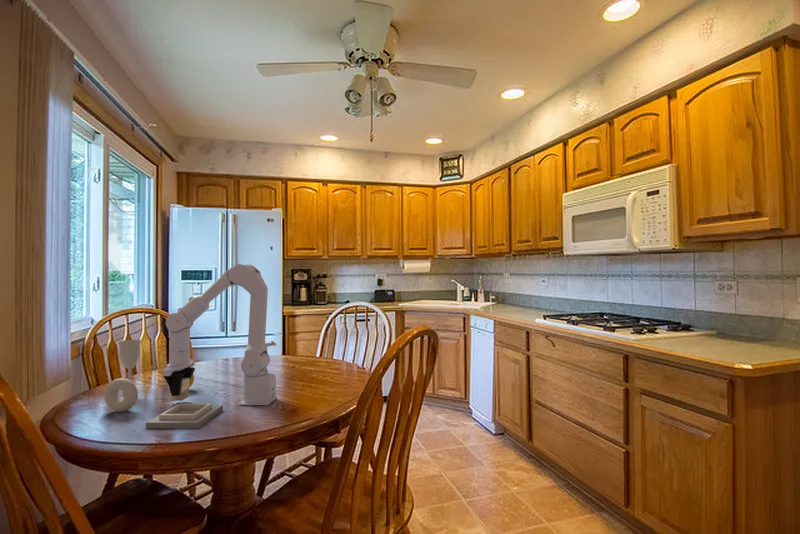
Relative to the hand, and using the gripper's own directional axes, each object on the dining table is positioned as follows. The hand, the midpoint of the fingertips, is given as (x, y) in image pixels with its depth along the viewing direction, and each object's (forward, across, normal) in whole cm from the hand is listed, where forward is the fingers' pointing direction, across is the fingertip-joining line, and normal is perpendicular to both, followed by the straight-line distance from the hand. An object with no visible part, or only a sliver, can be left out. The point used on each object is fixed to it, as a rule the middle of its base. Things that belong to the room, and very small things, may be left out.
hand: (179, 393), depth 127 cm
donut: (+3, +8, -13) cm, 16 cm away
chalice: (+3, -10, -23) cm, 25 cm away
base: (+3, +14, +10) cm, 17 cm away
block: (+2, 0, 0) cm, 2 cm away
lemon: (+3, -14, -6) cm, 16 cm away
